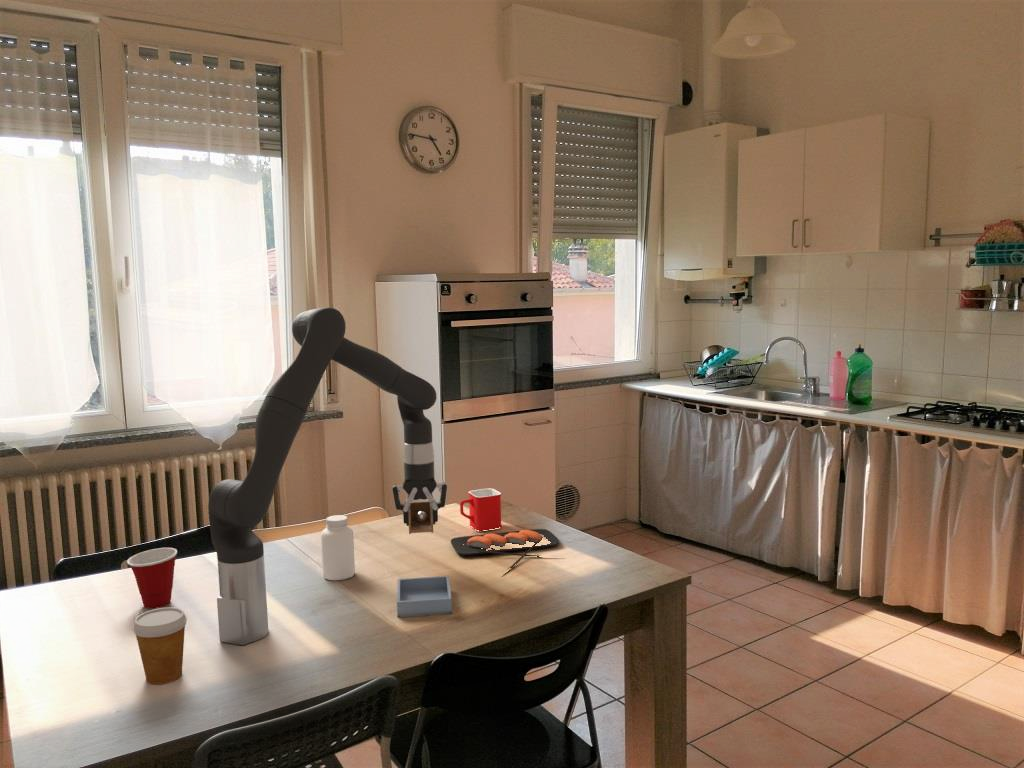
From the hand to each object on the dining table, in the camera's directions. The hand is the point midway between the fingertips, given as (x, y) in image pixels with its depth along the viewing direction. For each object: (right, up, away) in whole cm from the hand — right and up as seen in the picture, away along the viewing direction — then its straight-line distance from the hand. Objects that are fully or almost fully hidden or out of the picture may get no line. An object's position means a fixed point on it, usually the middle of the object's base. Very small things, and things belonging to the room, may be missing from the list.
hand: (421, 524), depth 208 cm
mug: (+14, -7, +34) cm, 38 cm away
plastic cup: (-60, -16, -17) cm, 64 cm away
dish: (+3, -15, -20) cm, 25 cm away
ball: (0, +2, +2) cm, 3 cm away
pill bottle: (-20, -13, -2) cm, 24 cm away
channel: (0, -1, 0) cm, 1 cm away
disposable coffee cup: (-43, -20, -52) cm, 71 cm away
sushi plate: (+23, -11, +12) cm, 28 cm away
